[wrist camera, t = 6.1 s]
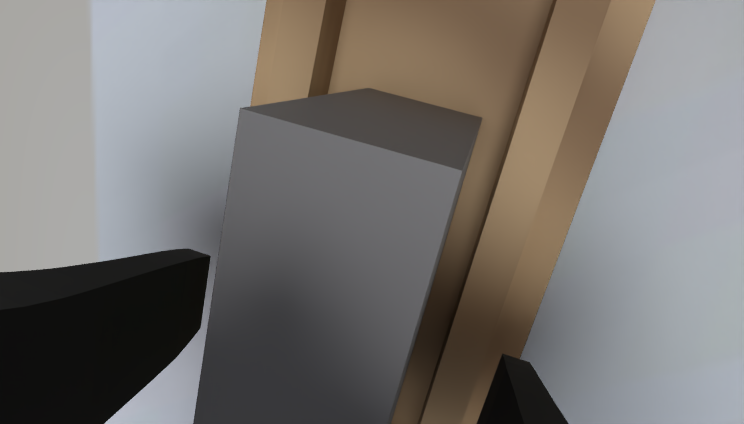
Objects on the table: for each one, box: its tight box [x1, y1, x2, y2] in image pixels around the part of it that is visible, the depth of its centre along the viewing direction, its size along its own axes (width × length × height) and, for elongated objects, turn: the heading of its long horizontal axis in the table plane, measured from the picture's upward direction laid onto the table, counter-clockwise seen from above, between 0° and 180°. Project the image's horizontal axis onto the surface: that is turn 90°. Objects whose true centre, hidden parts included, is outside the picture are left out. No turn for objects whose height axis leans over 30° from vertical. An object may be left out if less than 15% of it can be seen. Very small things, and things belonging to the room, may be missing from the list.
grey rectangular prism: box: [193, 88, 482, 424], centre depth 11 cm, size 3×10×7 cm, turn 167°
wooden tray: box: [250, 0, 655, 424], centre depth 15 cm, size 20×9×2 cm, turn 167°
